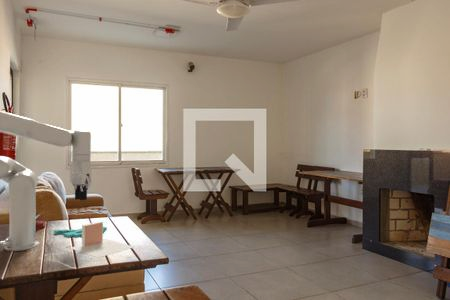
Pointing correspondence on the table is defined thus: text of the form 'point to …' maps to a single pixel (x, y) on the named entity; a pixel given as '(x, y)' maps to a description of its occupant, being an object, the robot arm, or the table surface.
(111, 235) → the table surface
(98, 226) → the tile
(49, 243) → the table surface
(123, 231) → the table surface
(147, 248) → the table surface
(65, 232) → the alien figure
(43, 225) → the canned food
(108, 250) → the mat
